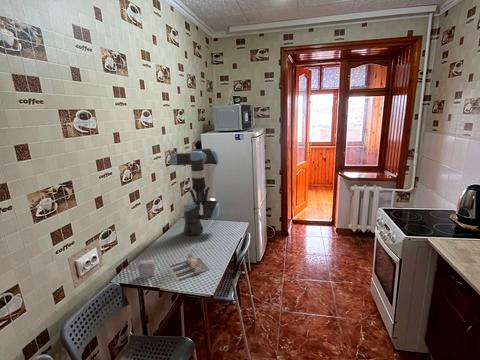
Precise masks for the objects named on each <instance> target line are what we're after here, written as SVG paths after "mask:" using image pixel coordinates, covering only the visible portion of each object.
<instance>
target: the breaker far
mask: <svg viewBox="0 0 480 360" xmlns="http://www.w3.org/2000/svg"><path fill="white" fill-rule="evenodd" d="M194 258H195V257H194V255H193V254H190V253H189V254H188V255H186V261H187V262H186V263H187V264H190V260H192V259H194Z"/></svg>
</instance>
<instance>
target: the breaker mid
mask: <svg viewBox="0 0 480 360" xmlns="http://www.w3.org/2000/svg"><path fill="white" fill-rule="evenodd" d="M196 259H197V258H195V259H192V260H190V263H191V267H190V268H191V269H193V268H194V265H195V264H197V263H198V262H197V260H196Z"/></svg>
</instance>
